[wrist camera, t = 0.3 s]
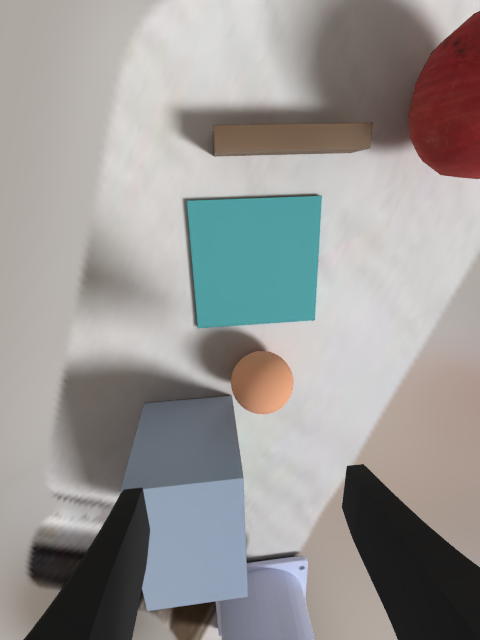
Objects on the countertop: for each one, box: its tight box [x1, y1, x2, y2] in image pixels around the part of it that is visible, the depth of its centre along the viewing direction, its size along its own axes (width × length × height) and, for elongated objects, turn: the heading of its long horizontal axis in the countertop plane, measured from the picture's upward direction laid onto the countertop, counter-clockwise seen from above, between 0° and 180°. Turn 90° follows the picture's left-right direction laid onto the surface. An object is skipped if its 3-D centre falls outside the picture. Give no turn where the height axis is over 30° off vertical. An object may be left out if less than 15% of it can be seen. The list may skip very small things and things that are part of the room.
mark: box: [187, 196, 322, 328], centre depth 18 cm, size 7×7×1 cm
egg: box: [231, 351, 293, 414], centre depth 19 cm, size 4×4×4 cm
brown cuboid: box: [213, 123, 373, 156], centre depth 15 cm, size 1×7×2 cm, turn 92°
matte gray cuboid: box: [120, 396, 248, 611], centre depth 20 cm, size 9×6×7 cm, turn 2°
